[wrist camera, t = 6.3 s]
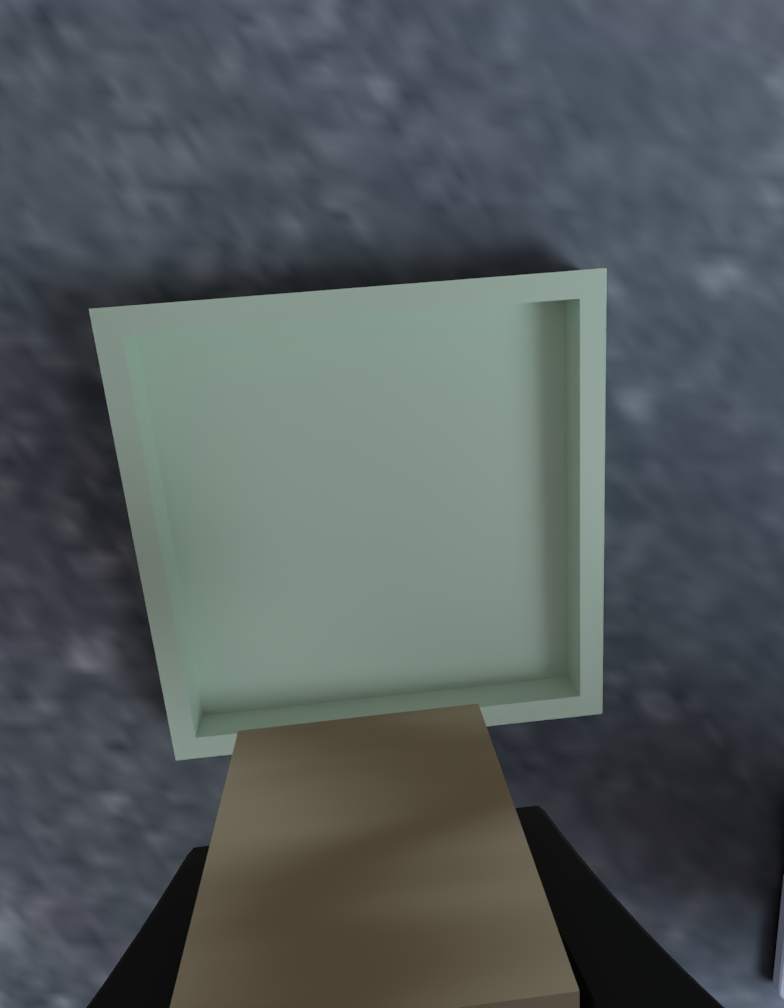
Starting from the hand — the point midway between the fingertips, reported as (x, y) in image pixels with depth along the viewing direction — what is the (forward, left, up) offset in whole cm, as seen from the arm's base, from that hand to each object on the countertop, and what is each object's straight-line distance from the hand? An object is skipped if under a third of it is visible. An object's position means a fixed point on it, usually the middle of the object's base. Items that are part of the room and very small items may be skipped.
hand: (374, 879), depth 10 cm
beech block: (0, 0, -2) cm, 2 cm away
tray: (-1, -3, -8) cm, 9 cm away
